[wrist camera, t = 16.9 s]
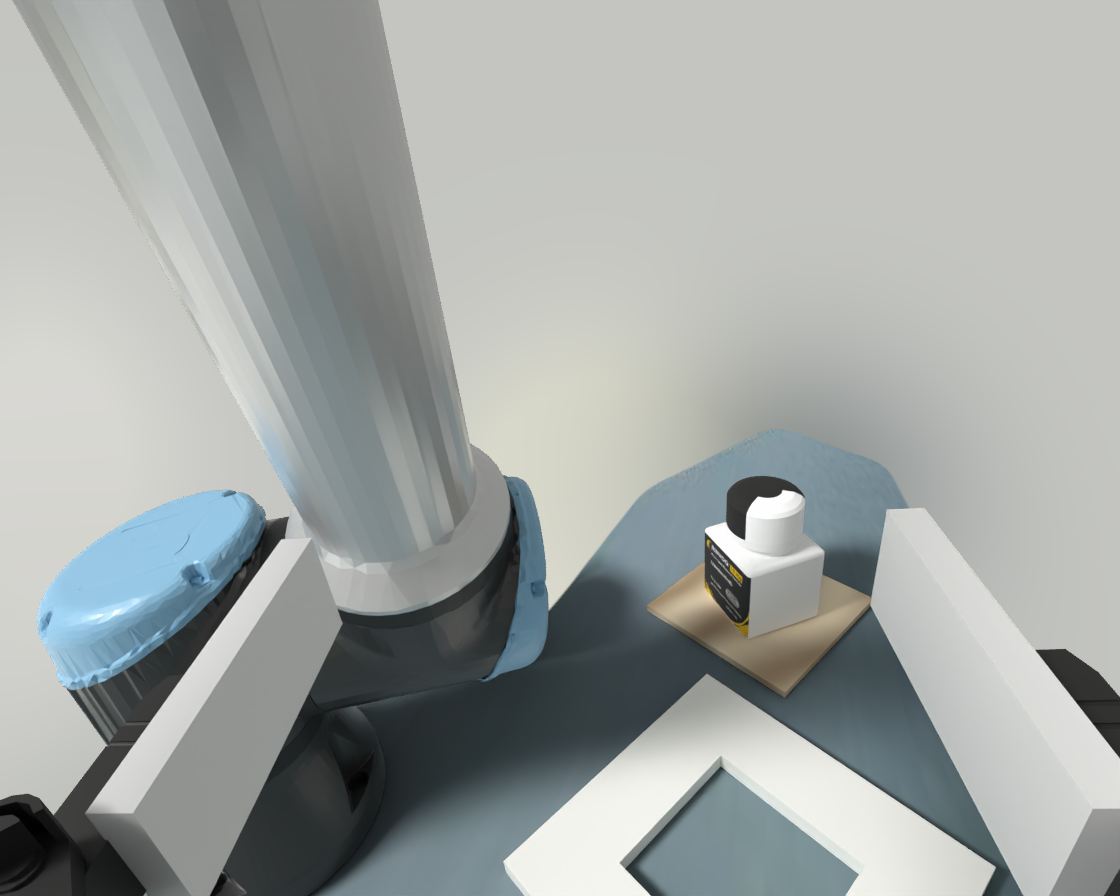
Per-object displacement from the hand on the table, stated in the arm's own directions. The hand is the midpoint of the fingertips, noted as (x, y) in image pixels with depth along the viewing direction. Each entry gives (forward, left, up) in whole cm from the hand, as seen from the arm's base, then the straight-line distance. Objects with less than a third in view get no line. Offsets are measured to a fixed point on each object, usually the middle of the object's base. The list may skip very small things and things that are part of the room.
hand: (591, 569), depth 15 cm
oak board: (-15, +31, -32) cm, 47 cm away
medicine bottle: (-15, +31, -31) cm, 47 cm away
